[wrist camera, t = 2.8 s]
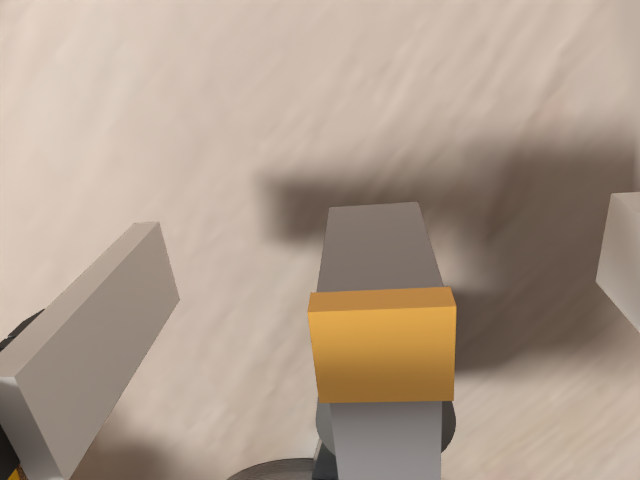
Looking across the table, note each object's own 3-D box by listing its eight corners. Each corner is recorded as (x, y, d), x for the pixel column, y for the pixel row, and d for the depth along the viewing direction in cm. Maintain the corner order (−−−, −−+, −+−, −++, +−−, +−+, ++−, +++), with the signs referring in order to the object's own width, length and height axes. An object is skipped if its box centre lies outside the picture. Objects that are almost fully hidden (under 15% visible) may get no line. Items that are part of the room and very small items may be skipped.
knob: (435, 382, 20) (488, 636, 12) (329, 385, 20) (310, 630, 12) (438, 151, 15) (521, 303, 7) (303, 162, 16) (248, 314, 8)
